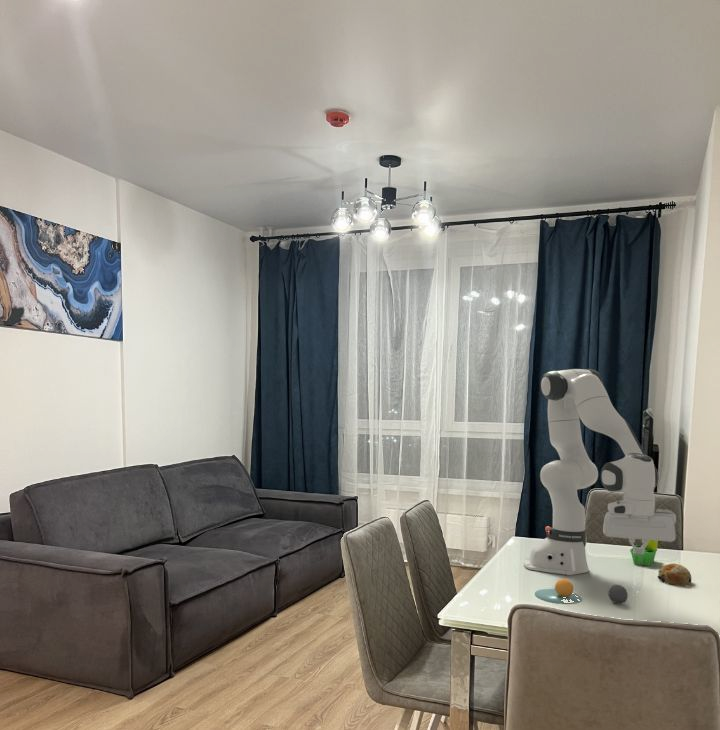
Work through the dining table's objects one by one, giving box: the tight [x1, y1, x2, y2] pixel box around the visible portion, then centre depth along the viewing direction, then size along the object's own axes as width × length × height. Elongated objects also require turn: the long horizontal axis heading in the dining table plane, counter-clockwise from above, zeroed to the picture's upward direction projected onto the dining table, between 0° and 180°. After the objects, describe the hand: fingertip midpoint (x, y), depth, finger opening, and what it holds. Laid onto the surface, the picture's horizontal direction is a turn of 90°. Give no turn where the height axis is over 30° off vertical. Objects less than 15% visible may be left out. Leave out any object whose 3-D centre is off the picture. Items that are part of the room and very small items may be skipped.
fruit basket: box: [629, 540, 659, 566], centre depth 250 cm, size 11×9×11 cm
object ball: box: [554, 578, 574, 597], centre depth 206 cm, size 6×6×6 cm
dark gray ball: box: [607, 584, 629, 605], centre depth 201 cm, size 6×6×6 cm
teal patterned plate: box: [534, 588, 583, 604], centre depth 206 cm, size 14×14×1 cm
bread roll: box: [657, 563, 693, 587], centre depth 226 cm, size 10×10×8 cm
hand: (638, 553), depth 201 cm, fingers closed
